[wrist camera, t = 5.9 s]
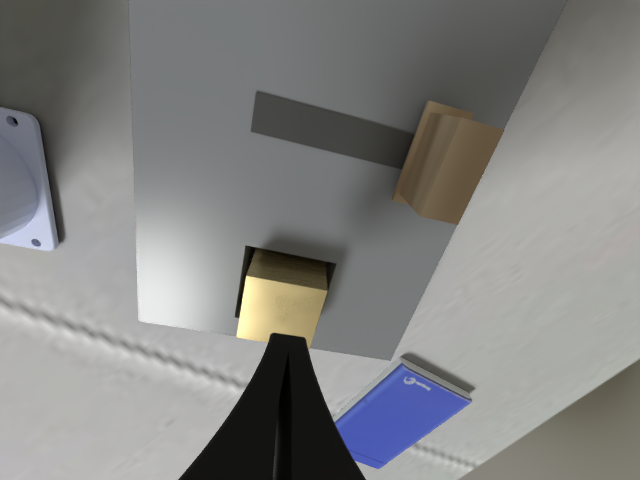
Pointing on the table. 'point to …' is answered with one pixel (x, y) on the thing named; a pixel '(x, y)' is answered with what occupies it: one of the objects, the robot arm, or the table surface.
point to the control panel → (305, 146)
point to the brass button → (282, 296)
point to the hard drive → (396, 412)
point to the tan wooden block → (445, 162)
